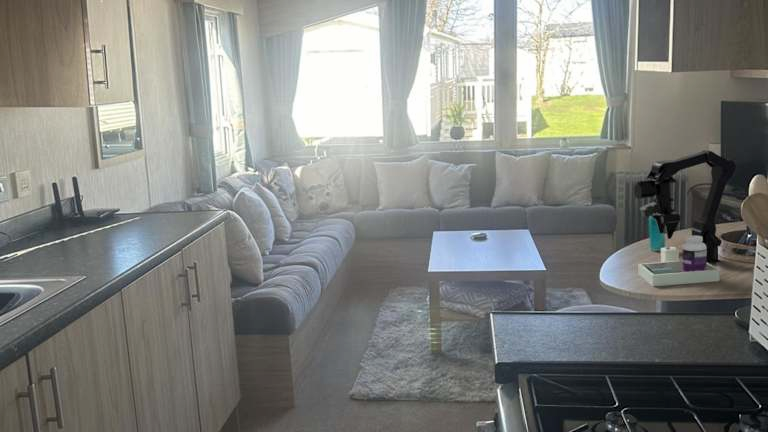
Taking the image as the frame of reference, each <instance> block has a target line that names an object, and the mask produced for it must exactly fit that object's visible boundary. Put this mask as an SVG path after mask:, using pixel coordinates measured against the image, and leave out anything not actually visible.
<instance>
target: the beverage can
mask: <svg viewBox="0 0 768 432" xmlns="http://www.w3.org/2000/svg"><path fill="white" fill-rule="evenodd" d="M648 218H649V219H648V220H649V221H648V222H649V224H648V225H649V246H650V247H649V248H650V250H651V251H652V252H661V248H665V247H666V245H665V244H666V243H665V242H666V241H665V240H666V238H665V237H666V236H665V232H666V231H665V230H664V231H663V233H661V234H660V232H659V229H658V226H657V223H656V220H655V219H654V218H653V217H652V216H649V217H648Z"/></svg>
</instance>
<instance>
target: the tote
mask: <svg viewBox="0 0 768 432" xmlns="http://www.w3.org/2000/svg"><path fill="white" fill-rule="evenodd" d="M660 263H666V264H667V265H669V266H670V267H671V268H672V269H671V273H667V274H655V275H654V274H653V273H651V272H650V271H649V270H648V269H647V266H646V265H647V264H660ZM637 265H638V266H637V268H638V269H637V270H638V276H640V277H641V278H642V279H643V280H645V281H646V282H647V284H650V286H652V287H664V286H675V285H686V284H688V285H689V284H701V283H713V282H720V269H718V268H717V267H715V266H714V265H712V264H711V263H710V262H707V270H704V271H692V272H682V260H679V261H669V262H661V261H660V262H659V261H657V262H645V263H638V264H637Z"/></svg>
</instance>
